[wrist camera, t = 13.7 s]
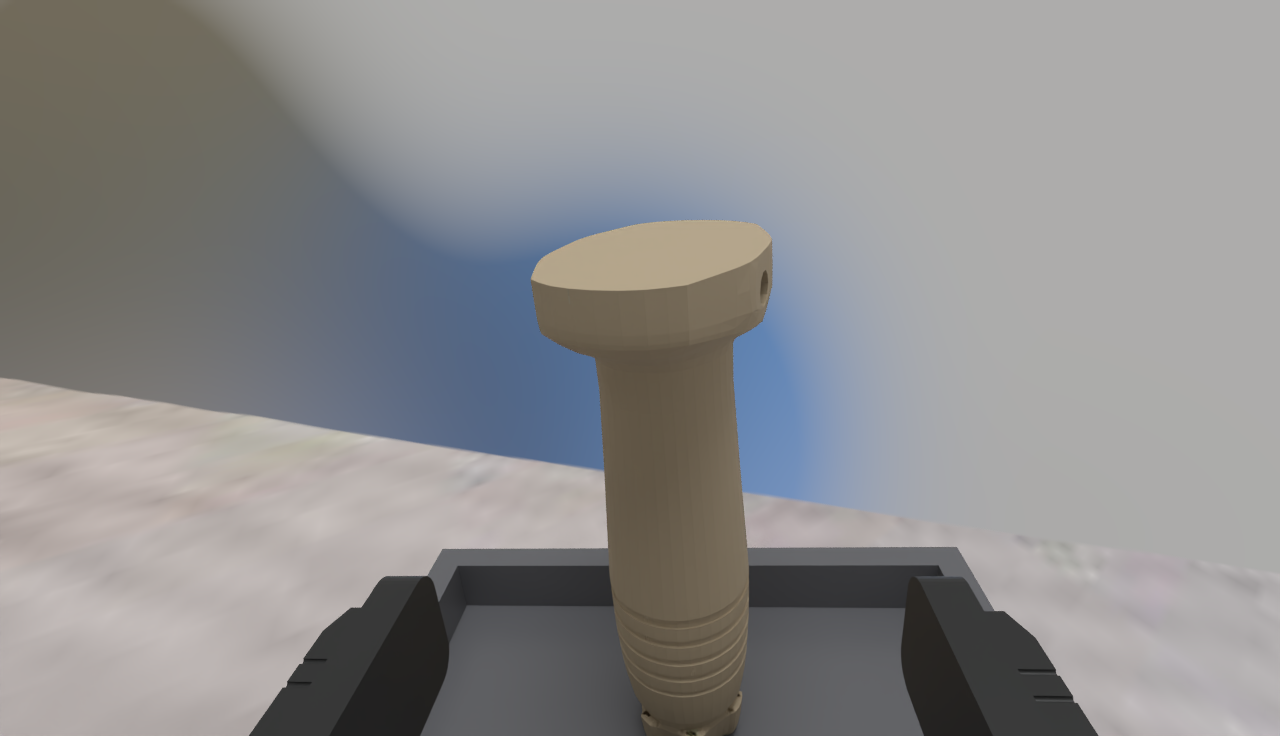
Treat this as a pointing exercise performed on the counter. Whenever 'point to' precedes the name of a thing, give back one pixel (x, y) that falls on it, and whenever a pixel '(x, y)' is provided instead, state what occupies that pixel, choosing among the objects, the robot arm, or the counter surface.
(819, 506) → the counter surface
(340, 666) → the robot arm
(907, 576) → the tray
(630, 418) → the handle
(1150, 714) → the counter surface
